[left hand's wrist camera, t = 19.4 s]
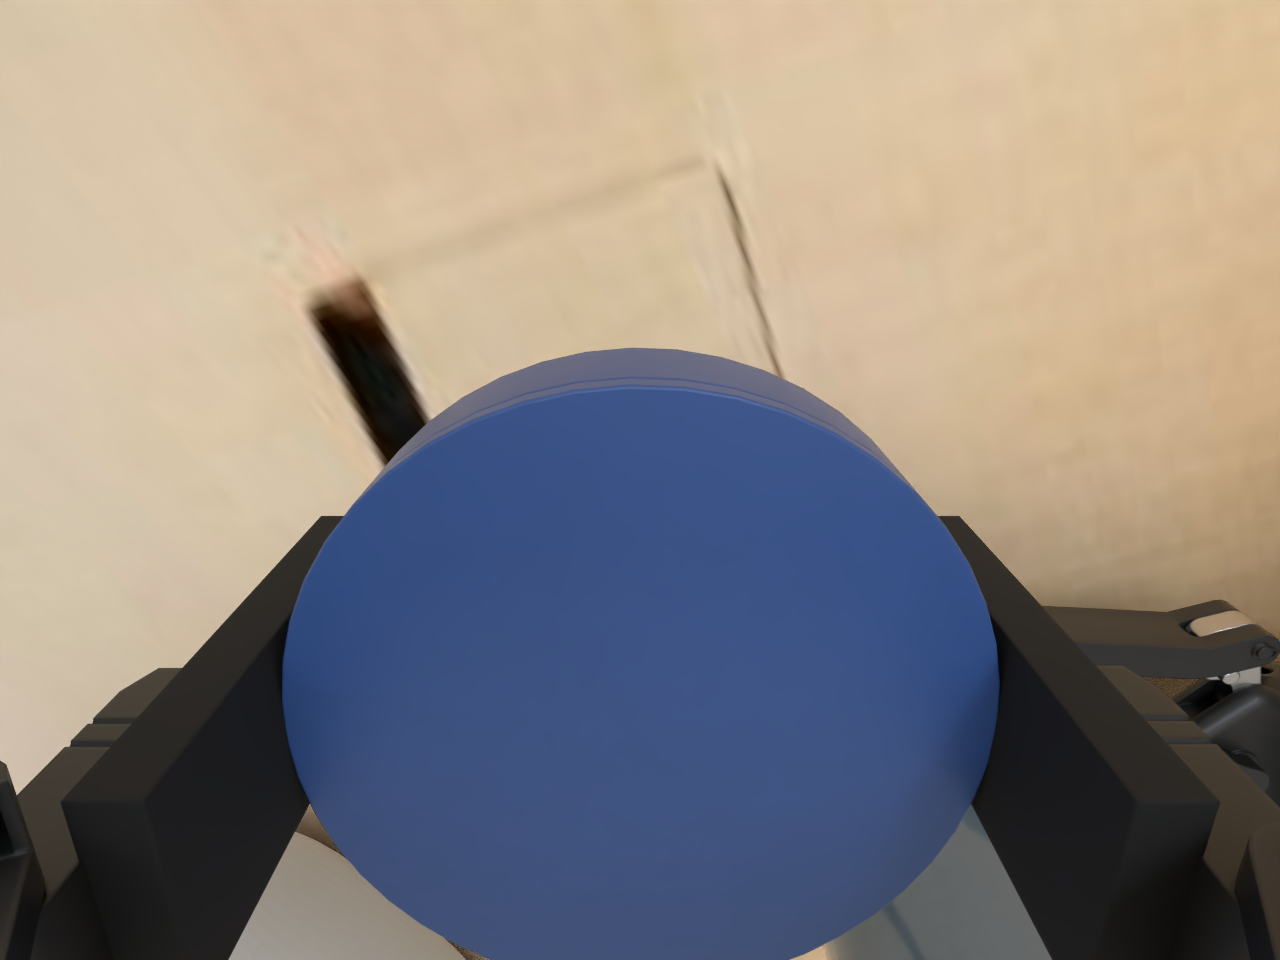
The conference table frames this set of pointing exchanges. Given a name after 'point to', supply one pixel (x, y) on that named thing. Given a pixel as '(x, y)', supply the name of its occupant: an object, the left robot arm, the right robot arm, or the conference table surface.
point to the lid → (640, 668)
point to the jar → (950, 911)
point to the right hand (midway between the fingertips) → (776, 819)
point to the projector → (331, 915)
